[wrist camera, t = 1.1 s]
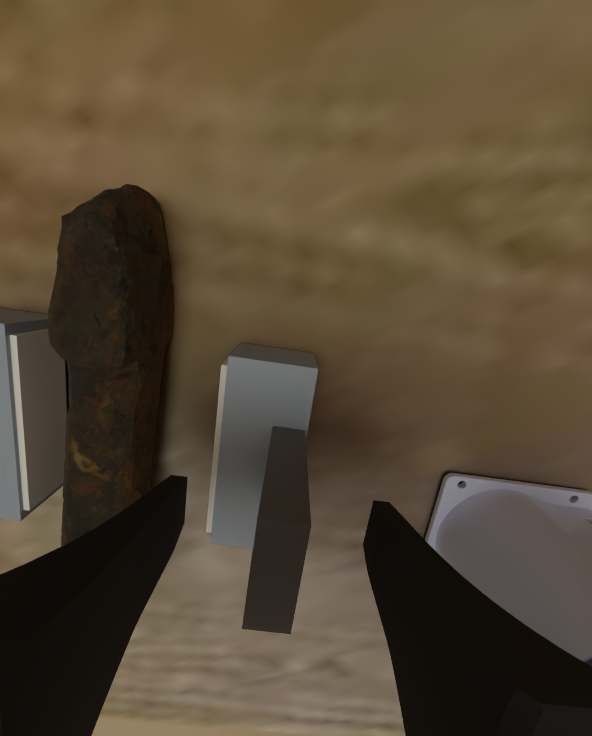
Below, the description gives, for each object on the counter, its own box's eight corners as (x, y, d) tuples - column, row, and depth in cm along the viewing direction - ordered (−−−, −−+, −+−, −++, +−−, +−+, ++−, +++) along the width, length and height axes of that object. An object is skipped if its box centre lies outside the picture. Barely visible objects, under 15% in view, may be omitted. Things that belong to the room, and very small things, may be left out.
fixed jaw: (69, 317, 16) (11, 325, 13) (75, 480, 19) (27, 521, 16) (-13, 305, 16) (-94, 309, 13) (3, 471, 19) (-62, 510, 15)
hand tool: (158, 571, 21) (111, 668, 16) (87, 556, 21) (14, 651, 15) (225, 221, 16) (190, 185, 10) (131, 195, 15) (43, 143, 10)
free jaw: (313, 353, 17) (335, 427, 8) (288, 506, 19) (282, 702, 10) (236, 341, 17) (165, 404, 8) (220, 498, 19) (151, 688, 10)
